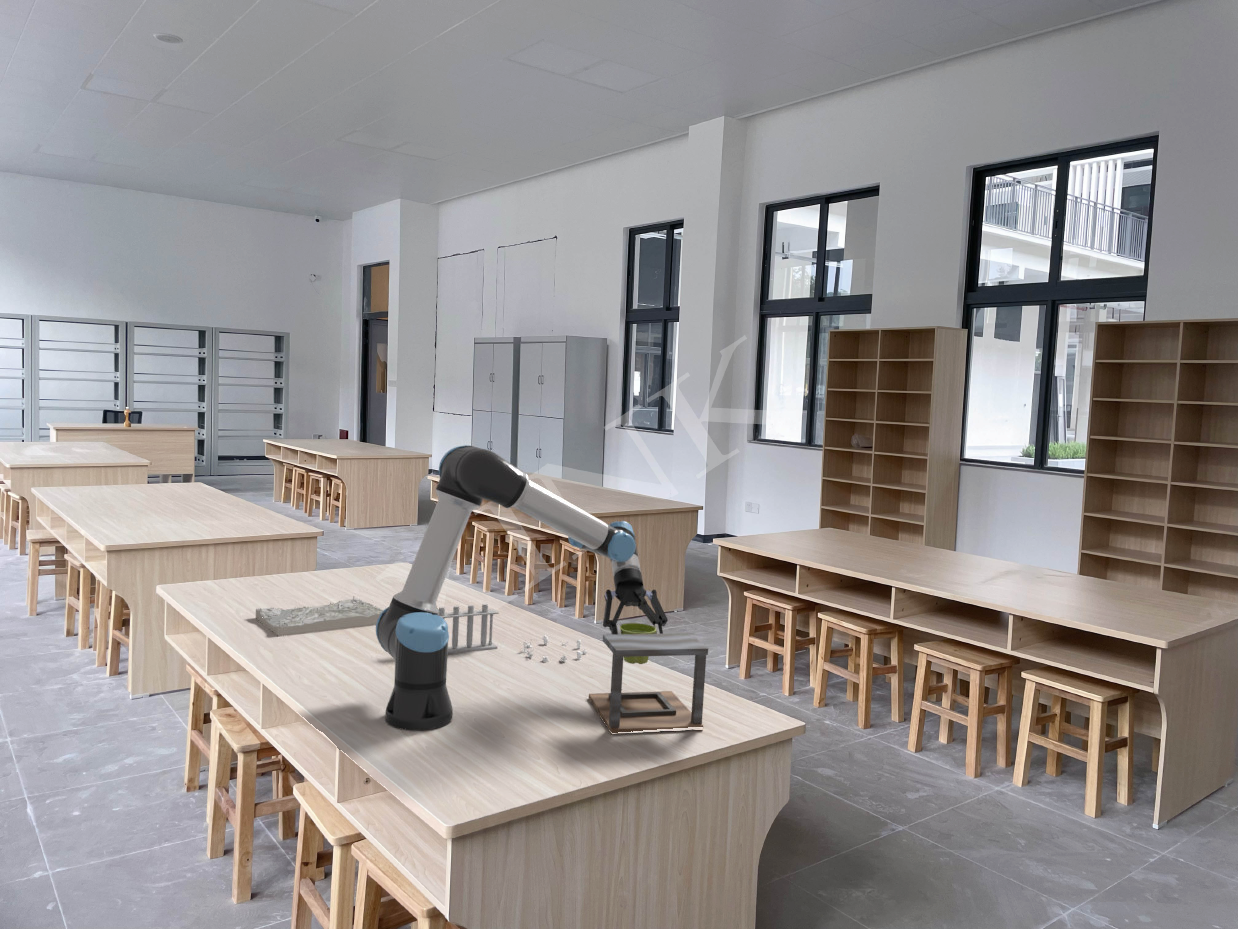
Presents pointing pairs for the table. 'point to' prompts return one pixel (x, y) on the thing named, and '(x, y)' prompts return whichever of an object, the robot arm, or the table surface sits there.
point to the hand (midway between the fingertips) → (640, 649)
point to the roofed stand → (650, 706)
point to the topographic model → (319, 617)
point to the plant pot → (637, 629)
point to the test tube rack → (470, 628)
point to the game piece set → (563, 658)
